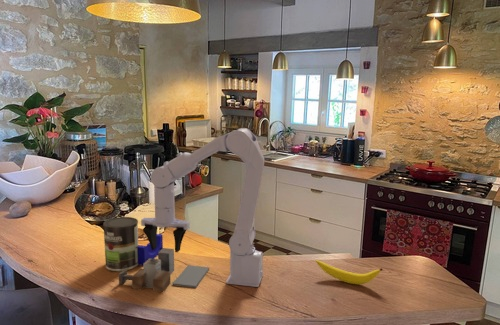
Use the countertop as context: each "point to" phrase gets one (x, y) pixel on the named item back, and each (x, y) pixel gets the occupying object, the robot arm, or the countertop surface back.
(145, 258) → the blue cradle bracket
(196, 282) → the pad
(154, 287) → the vise
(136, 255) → the coffee can
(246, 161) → the robot arm
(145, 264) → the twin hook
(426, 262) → the countertop surface
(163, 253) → the gray stepped bracket
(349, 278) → the banana
